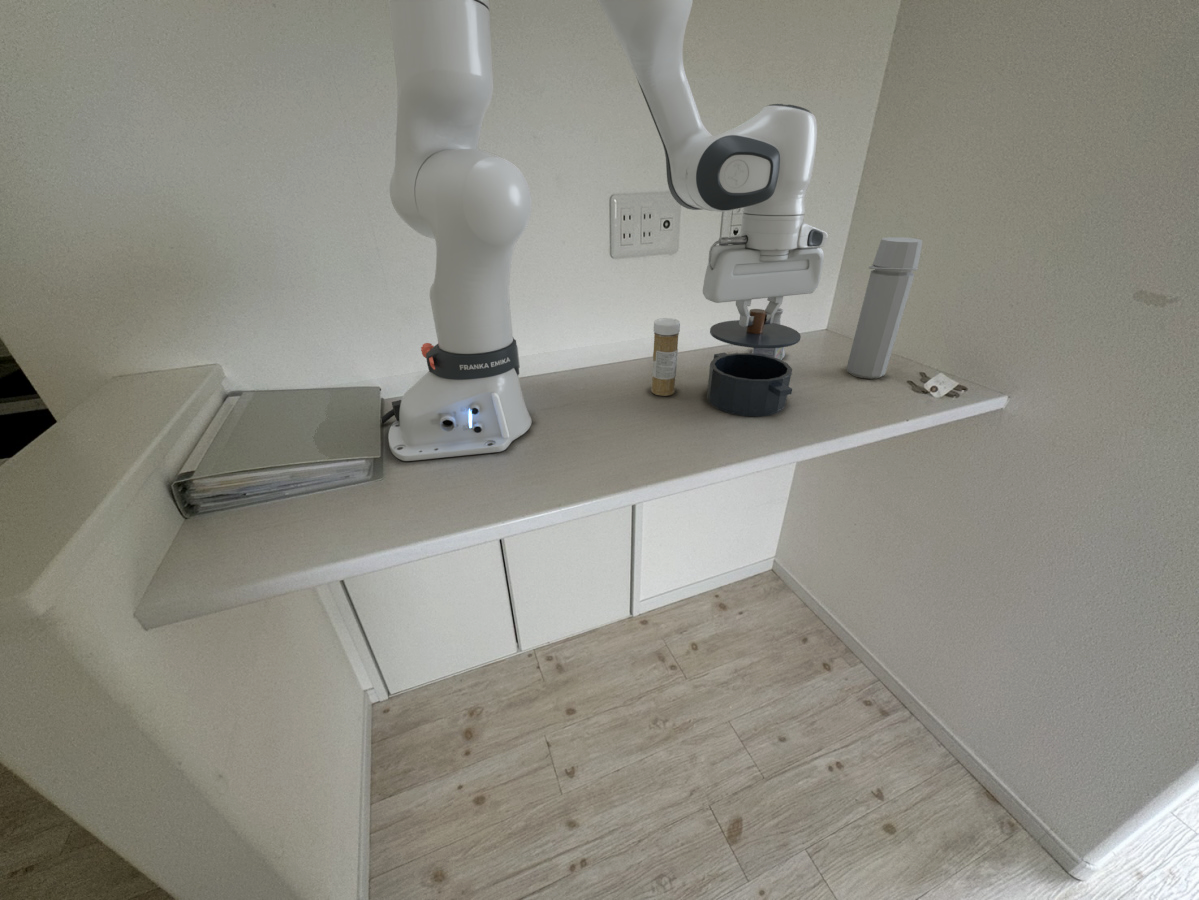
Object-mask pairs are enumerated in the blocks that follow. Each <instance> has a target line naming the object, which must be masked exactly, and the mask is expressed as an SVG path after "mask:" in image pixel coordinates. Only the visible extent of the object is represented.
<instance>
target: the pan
mask: <svg viewBox="0 0 1199 900" xmlns="http://www.w3.org/2000/svg"><path fill="white" fill-rule="evenodd" d="M792 373H793V368H792V367H791V365H790V364H789V363H788V362H786V361H784V360H780V359H778V358H774V357H770V356H766V355H761V354H752V352H733V353H727V352H720V353H714V354H713V359H712V360H711V361H710V363H709V371H708V379H707V380H708V381H707V389H706V396H707V397H706V398H707V401H708V403H709V404H710V405H711V406H712V407H714V408H715V409H717V410H719V411H721V412H724V413H726V414H730V415H735V416H741V417H754V418H755V417H759V418H760V417H768V416H772V415H776V414H778V413H780V412H782V411H783V410H784V409H785V407H786V404H787V399H788V396H789V395H792V393H793V388H792V387H790V383H791V378H792Z"/></svg>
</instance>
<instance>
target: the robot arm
mask: <svg viewBox="0 0 1199 900" xmlns="http://www.w3.org/2000/svg"><path fill="white" fill-rule="evenodd" d="M693 1H694V0H597V2H598V4H599V6H600V8H601V11H602V12H603V14H604V17H605V18H606V20H607V23H608V25H609V26H610V28H611V31H612V32H613V34H614V36H615V38H616V40H617V42H618V43H619V46H620V48H621V49H622V51H623V53H624V55H625V57H626V60H627V62H628V63H629V65H630V67H631V70H632V71H633V73H634V75H635V78H636V79H637V82H638V85H639V88H640V91H641V93H642V95H643V99H644V100H645V104H646V106H647V109H648V112H649V113H650V116H651V119H652V121H653V124H654V126H655V128H656V131H657V133H658V136H659V139H660V142H661V143H662V147H663V150H664V154H665V168H666V170H665V171H666V182H667V186H668V189H669V192H670V194H671V196H672V198H673V199H674V200H675V201H676V203H678V204H679V205H680V206H681V207H683V208H685V209H687V210H691V211H701V210H703V211H709V212H719V213H725V212H727V213H728V212H731V211H735V210H737V209H743V210H742V218H741V225H740V232H739V235H737V236H731V237H729V236H723V237H722V236H721V237H719V238H718V240H716V241H715V242H714V243H712V245H711V246H710V248H709V251H708V258H707V259H708V262H707V266H706V270H705V274H704V280H703V285H702V295H703V296H704V298H705V300H707V301H709V302H711V303H715V304H721V303H731V302H735V306H736V308H737V311H738V314H739V319H738V320H739V324H740V326H742V327H749V326H752V325H753V320H754V316H753V315H750V314H749V311H750V310H749V308H748V307H751V305H752V300H759V299H760V300H761V299H767V301H768V303H767V306H766V307H765V309H764V310H765V311H766V315H765V321H764V325H766V324H772V323H773V318H774V314H775V313H776V311H777V310H778V308H780V307H781V306H782V304H783V301H784V297H788V296H789V297H790V296H800V295H808V294H809V295H811V294H813V293H814V292H815V291H816V290H817V288H818V287H819V285H820V281H821V278H822V273H823V267H824V260H825V253H824V250H823V249H822V248H823V247H825V246H826V244H827V242H828V239H829V238H828V237H829V234H828V232H826V231H825V230H822V229H821V228H818V227H815V226H813V225H811V224H808V223H807V222H804V220H805V214H806V204H805V202H806V200H805V199H806V194H807V191H808V188H809V186H810V184H811V182H812V177H813V171H814V167H815V166H814V165H815V160H816V159H815V158H816V152H817V151H816V150H817V144H818V124H817V123H818V122H817V118H816V116H815V115H814V113H812V112H811V111H810V110H809V109H807V108H804V107H802V106H798V105H795V104H784V103H771V104H769V105H765V106H763V107H762V109H761V110H760V111H759V112H758V113H756V114H755V115H754V116H752V117H751V118H750V119H748V120H746V121H744V122H743V123H741V124H739V125H737V126H735V127H733V128H731V129H729V130H726V131H724V132H722V133H719V134H715V135H714V134H712V133H711V132H710V131H708V129H707V128H706V127H705V125H704V123H703V120H702V118H701V115H700V112H699V109H698V107H697V104H696V100H695V98H694V94H693V91H692V89H691V86H690V83H689V80H688V77H687V75H686V74H687V73H686V71H685V64H684V55H683V54H684V52H683V51H684V50H683V49H684V41H685V40H684V39H685V34H686V29H687V25H688V22H689V19H690V15H691V11H692V7H693ZM387 5H388V6H387V7H388V13H389V21H390V30H391V38H392V47H393V56H394V64H395V75H396V89H397V91H396V92H397V93H396V94H397V96H396V97H397V99H396V100H397V102H396V103H397V108H396V129H395V131H396V132H395V156H394V158H395V160H394V168H393V172H392V174H391V177H390V180H389V196H390V201H391V204H392V206H393V208H394V210H395V212H396V213H397V215H398V216H399V217H400V219H401V220H402V221H403V222H404V223H405V224H407V226H409V227H410V228H411V229H412V230H413V231H415V232H417V233H418V234H420V235H421V236H424V237H425V238H428V239H433V240H435V247H436V250H435V251H436V254H435V255H436V256H435V273H434V279H433V283H432V284H431V286H430V288H429V300H430V307H431V312H432V317H433V323H434V329H435V334H436V340H437V344H435V345H432V343H430V342H425V343H423V344H422V345H421V347H420V351H421V354H422V356H423V358H425V359H426V360H425V361H426V364H427V369H428V371H427V372H426V373H425V374H423V376H422V377H421V378H419V380H417V381H416V382H415V383H414V384H413V385H412V386H411V387H410V388H408V389H407V391H405V393H404V394H403V396H402V397H401V399H399V400H394V401H391V406H392V409H391V410H389V411H387V413H384V415H383V416H381V418H382V423H381V424H382V425H384V424H386V422H388V421H389V420H390V419H392V417H394V418H395V419H396V420H395V421H393V423H392V424H391V426H390V428H389V429H388V435H387V437H388V438H387V439H388V445H389V450H390V452H391V453H392V455H393V456H394V457H395V458H397V459H398V460H400V461H402V462H411V461H412V462H413V461H424V460H432V459H443V458H444V459H445V458H453V457H462V456H473V455H482V454H492V453H500V452H503V451H505V450H506V449H508V448H509V447H510V445H511V444H512V442H514V441H515V440H516V439H518V438H520V437H521V436H523V435H524V434H526V433H527V431H528V430H529V429H531V426H532V417H531V415H530V413H529V410H528V408H527V405H526V402H525V398H524V395H523V390H522V387H521V383H520V377H519V376H520V356H519V355H520V354H519V347H518V345H517V340H516V339H515V337H514V335H513V333H514V332H513V324H512V312H511V299H510V280H511V272H512V271H511V270H512V264H513V259H514V253H515V249H516V246H517V244H518V241H519V239H520V238H521V237H522V235H523V234H524V233H525V231H526V229H527V227H528V225H529V223H530V220H531V217H532V210H533V209H532V208H533V200H532V194H531V189H530V186H529V183H528V181H527V179H526V177H525V175H524V174H523V172H522V171H521V170H520V168H519V167H518V166H517V165H515V164H514V163H513V162H511V161H510V160H508V159H507V158H504V157H502V156H500V155H498V154H495V153H492V152H490V151H488V150H484V149H480V148H479V144H480V137H481V132H482V127H483V121H484V119H485V115H486V113H487V111H488V109H489V107H490V105H491V103H492V99H493V97H494V71H493V70H494V69H493V49H492V31H491V30H492V29H491V8H490V0H387Z"/></svg>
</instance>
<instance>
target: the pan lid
mask: <svg viewBox="0 0 1199 900" xmlns="http://www.w3.org/2000/svg"><path fill="white" fill-rule="evenodd" d="M748 311H749V314H750V315H753V316H754V320H753V325H752V326H749V327H742V326H740V324H739V320H740V319H737V320H735V319H734V320H727V321H720V322H718V323H715V324H713V325H712V326H710V328H709V334H710V335H711V337H712V338H714V339H716V340H717V341H720V342H722V343H725V344H729V345H731V346H732V345H733V346H737V347H742V348H748V349H749V348H752V349H753V348H782V347H784V348H788V347H791V346H794V345H796V344H799V342H800V341H801V333H800V332H799V331H797V330H796V329H795V328H792V327H790V326H787V325H783V324H781V323H780V324H776V323H772V324H766V325H764V321H765V315H766V311H765V309H762V308H752V309H749V310H748Z"/></svg>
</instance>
